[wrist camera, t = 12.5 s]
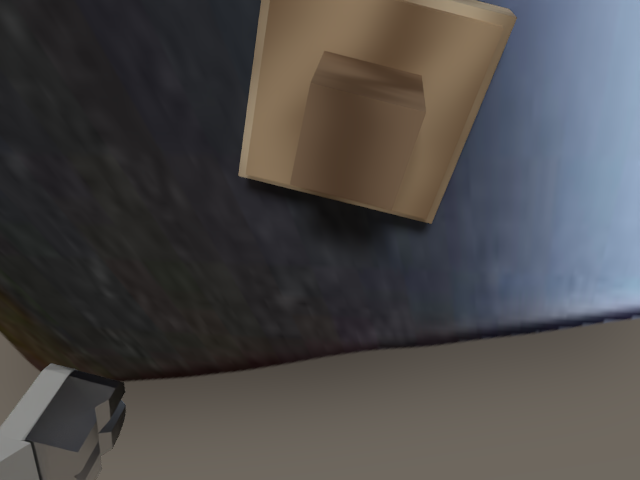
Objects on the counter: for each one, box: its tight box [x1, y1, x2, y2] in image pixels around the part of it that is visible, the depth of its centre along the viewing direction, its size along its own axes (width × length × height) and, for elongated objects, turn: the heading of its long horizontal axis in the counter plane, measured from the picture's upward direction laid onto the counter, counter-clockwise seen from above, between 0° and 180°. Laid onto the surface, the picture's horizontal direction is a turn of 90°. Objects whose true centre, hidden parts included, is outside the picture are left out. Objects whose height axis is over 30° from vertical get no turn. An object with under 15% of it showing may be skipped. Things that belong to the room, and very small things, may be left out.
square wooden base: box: [238, 0, 517, 224], centre depth 28 cm, size 12×12×2 cm
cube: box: [290, 51, 426, 210], centre depth 25 cm, size 5×5×5 cm
